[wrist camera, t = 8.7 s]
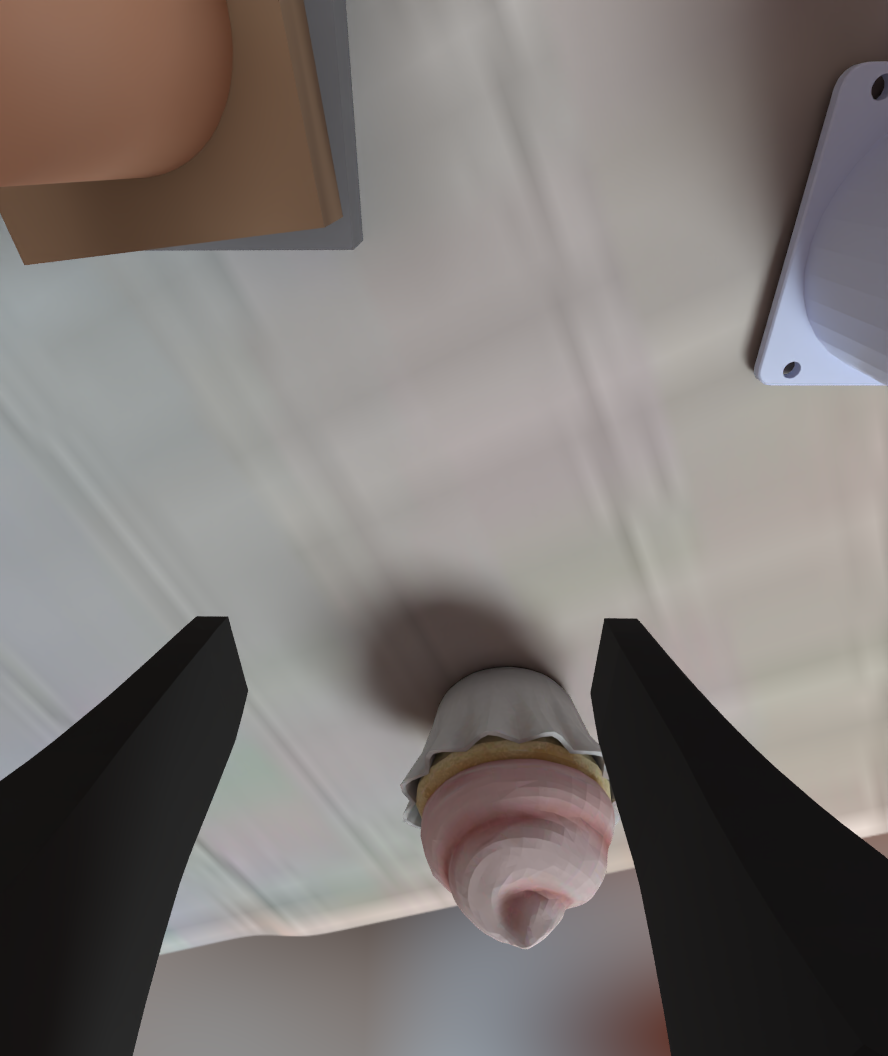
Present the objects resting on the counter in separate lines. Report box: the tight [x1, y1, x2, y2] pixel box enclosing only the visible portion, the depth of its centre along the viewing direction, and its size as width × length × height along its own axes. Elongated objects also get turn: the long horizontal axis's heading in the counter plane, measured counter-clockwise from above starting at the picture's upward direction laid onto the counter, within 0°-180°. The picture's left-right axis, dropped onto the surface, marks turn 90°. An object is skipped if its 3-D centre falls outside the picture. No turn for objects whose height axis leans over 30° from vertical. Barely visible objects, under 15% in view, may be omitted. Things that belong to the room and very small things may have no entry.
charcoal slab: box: [142, 0, 363, 251], centre depth 14 cm, size 8×8×2 cm
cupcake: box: [400, 667, 620, 949], centre depth 23 cm, size 9×9×10 cm
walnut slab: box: [0, 0, 343, 265], centre depth 12 cm, size 7×7×2 cm
